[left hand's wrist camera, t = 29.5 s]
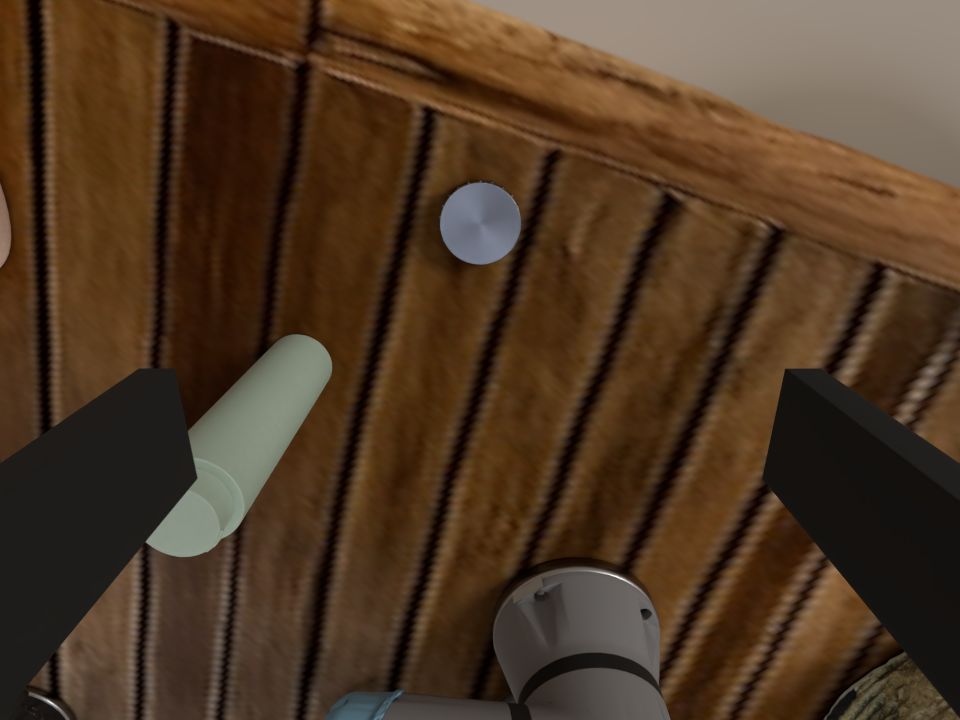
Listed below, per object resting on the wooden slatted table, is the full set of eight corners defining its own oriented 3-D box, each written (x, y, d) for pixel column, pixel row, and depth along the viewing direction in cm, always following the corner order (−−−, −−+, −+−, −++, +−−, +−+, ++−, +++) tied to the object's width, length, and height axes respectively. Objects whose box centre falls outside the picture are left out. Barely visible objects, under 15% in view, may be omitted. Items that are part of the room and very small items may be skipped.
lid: (524, 254, 42) (526, 259, 40) (447, 265, 42) (445, 270, 40) (515, 173, 40) (517, 175, 38) (434, 185, 40) (432, 187, 38)
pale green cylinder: (260, 379, 45) (111, 545, 27) (278, 324, 44) (133, 461, 25) (320, 402, 46) (215, 579, 28) (340, 349, 44) (242, 499, 26)
